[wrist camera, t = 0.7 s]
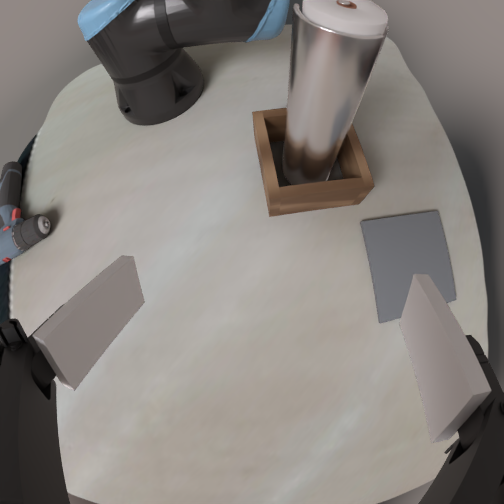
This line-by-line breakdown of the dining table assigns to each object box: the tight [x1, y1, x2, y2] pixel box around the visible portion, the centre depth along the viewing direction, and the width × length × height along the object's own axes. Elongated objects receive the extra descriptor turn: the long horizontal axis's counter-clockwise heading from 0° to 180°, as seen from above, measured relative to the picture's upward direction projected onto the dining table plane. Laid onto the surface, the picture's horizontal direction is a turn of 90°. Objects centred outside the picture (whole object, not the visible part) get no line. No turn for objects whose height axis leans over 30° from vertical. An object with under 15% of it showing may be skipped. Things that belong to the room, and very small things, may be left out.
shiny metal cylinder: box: [282, 0, 389, 185], centre depth 23 cm, size 6×6×25 cm
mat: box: [360, 211, 456, 323], centre depth 32 cm, size 13×13×1 cm
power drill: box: [0, 162, 50, 265], centre depth 35 cm, size 5×19×20 cm
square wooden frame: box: [252, 108, 374, 217], centre depth 32 cm, size 12×12×6 cm
